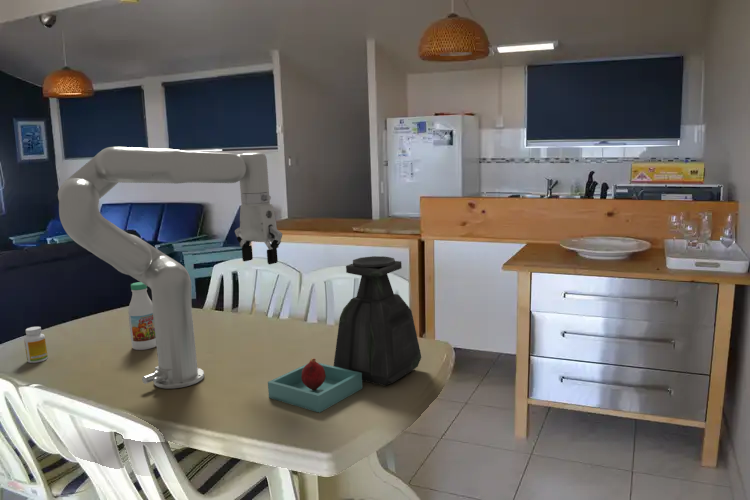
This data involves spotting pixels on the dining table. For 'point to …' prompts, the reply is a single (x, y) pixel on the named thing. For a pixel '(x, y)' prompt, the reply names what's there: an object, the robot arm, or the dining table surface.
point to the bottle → (377, 326)
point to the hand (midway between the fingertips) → (260, 261)
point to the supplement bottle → (35, 345)
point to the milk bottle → (141, 318)
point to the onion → (313, 375)
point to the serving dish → (328, 394)
